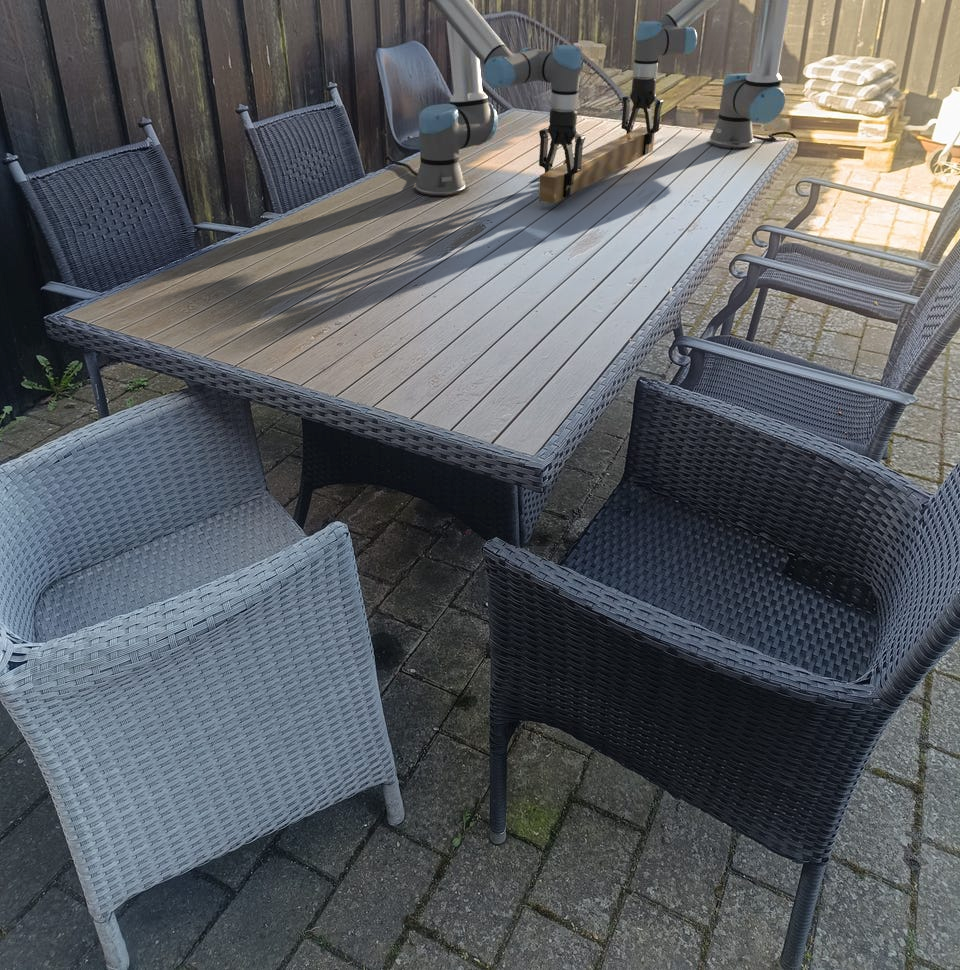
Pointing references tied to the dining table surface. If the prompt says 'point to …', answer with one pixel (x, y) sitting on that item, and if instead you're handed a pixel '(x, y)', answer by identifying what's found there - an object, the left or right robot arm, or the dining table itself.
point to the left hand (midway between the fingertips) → (557, 194)
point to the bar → (594, 165)
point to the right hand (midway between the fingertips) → (637, 152)
